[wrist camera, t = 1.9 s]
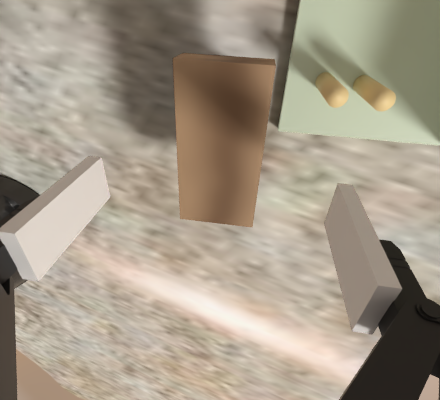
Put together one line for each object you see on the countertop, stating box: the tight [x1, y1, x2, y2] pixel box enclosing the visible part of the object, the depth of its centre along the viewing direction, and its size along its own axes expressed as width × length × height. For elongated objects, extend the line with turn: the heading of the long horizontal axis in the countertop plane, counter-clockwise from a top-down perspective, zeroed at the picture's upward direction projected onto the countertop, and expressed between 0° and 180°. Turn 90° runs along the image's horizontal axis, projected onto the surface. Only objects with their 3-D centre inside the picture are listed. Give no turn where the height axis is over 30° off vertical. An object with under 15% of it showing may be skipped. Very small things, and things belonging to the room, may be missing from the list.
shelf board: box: [173, 53, 276, 227], centre depth 20 cm, size 6×12×2 cm, turn 178°
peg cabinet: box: [278, 0, 440, 146], centre depth 16 cm, size 16×17×11 cm
